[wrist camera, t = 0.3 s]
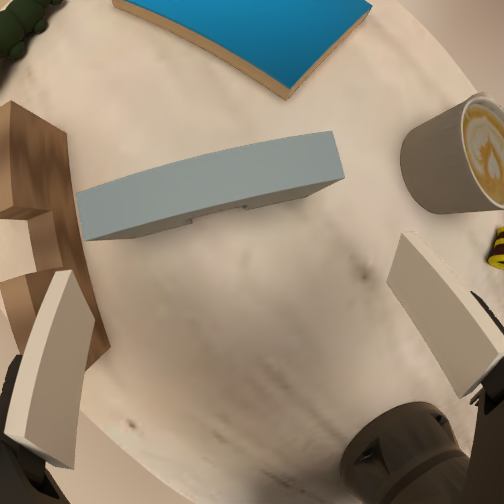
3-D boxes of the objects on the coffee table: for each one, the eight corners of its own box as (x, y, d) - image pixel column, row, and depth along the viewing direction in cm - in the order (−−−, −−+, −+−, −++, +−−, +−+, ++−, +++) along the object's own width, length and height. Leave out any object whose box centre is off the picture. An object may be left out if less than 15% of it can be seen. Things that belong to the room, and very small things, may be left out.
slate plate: (298, 165, 27) (331, 130, 17) (306, 196, 27) (345, 177, 17) (126, 206, 26) (75, 193, 16) (133, 238, 27) (84, 241, 17)
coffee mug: (445, 233, 29) (511, 234, 19) (384, 169, 28) (444, 146, 18) (484, 150, 28) (540, 134, 18) (433, 92, 28) (484, 58, 18)
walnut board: (110, 346, 27) (64, 392, 17) (86, 350, 27) (36, 393, 17) (66, 133, 25) (11, 100, 15) (44, 143, 25) (-14, 116, 15)
